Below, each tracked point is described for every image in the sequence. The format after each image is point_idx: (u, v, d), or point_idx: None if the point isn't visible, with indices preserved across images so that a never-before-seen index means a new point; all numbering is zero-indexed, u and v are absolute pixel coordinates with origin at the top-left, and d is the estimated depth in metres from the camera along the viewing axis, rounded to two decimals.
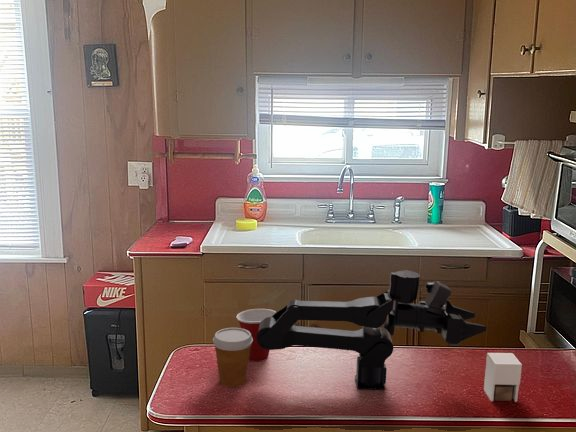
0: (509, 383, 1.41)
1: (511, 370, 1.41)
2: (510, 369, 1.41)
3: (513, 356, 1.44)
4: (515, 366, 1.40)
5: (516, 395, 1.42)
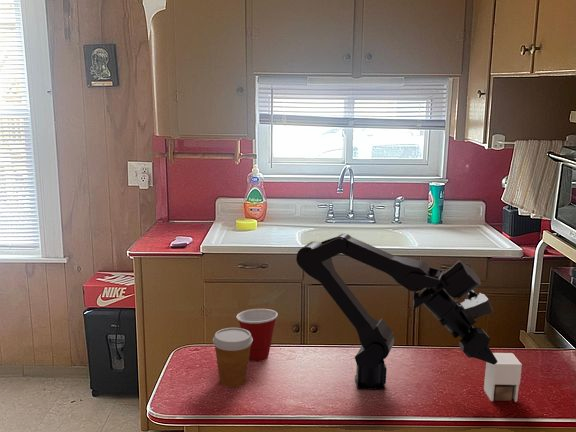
0: (509, 383, 1.41)
1: (511, 370, 1.41)
2: (510, 369, 1.41)
3: (513, 356, 1.44)
4: (515, 366, 1.40)
5: (516, 395, 1.42)
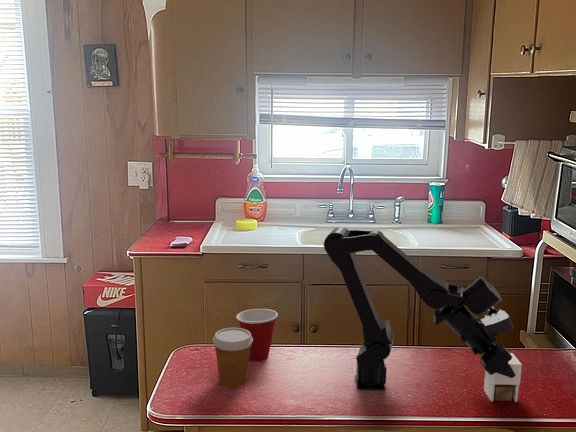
0: (509, 383, 1.41)
1: None
2: None
3: (513, 356, 1.44)
4: (515, 366, 1.40)
5: (516, 395, 1.42)
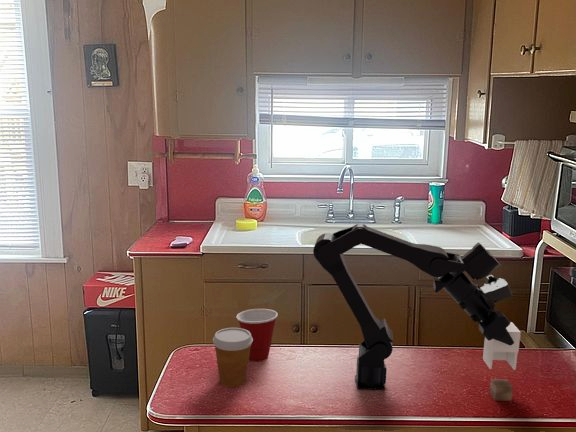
0: (508, 350, 1.42)
1: None
2: None
3: (512, 324, 1.45)
4: (514, 333, 1.41)
5: (515, 363, 1.43)
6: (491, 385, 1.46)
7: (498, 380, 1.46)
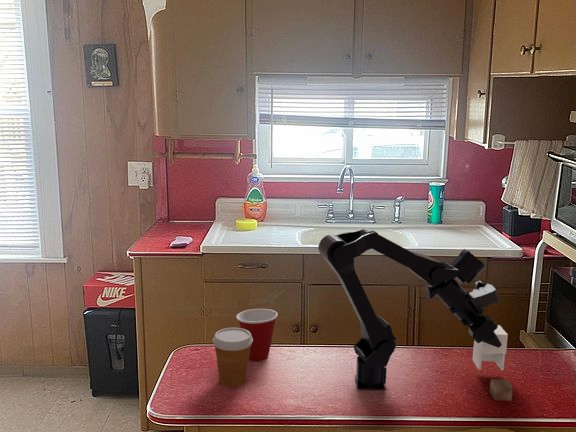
0: (496, 352, 1.50)
1: None
2: None
3: (500, 327, 1.54)
4: (501, 336, 1.50)
5: (502, 364, 1.52)
6: (491, 385, 1.46)
7: (498, 380, 1.46)
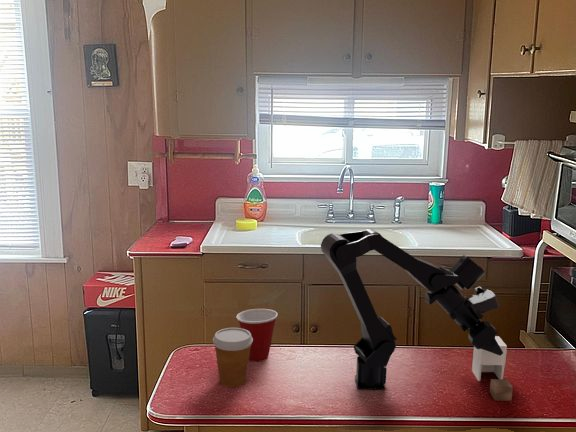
0: (495, 364, 1.51)
1: None
2: None
3: (499, 339, 1.54)
4: (501, 348, 1.50)
5: (502, 375, 1.52)
6: (491, 385, 1.46)
7: (498, 380, 1.46)
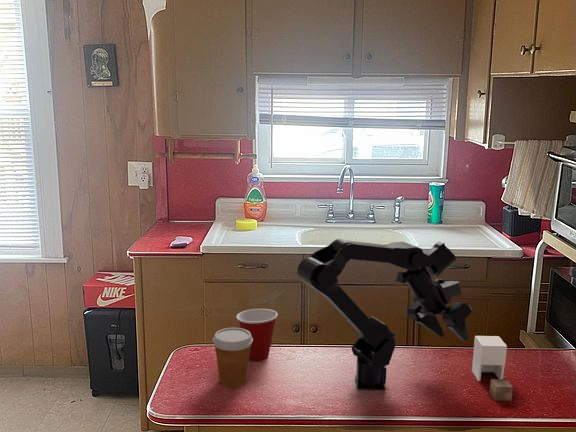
0: (495, 364, 1.51)
1: (497, 351, 1.50)
2: (496, 350, 1.50)
3: (499, 339, 1.54)
4: (501, 348, 1.50)
5: (502, 375, 1.52)
6: (491, 385, 1.46)
7: (498, 380, 1.46)
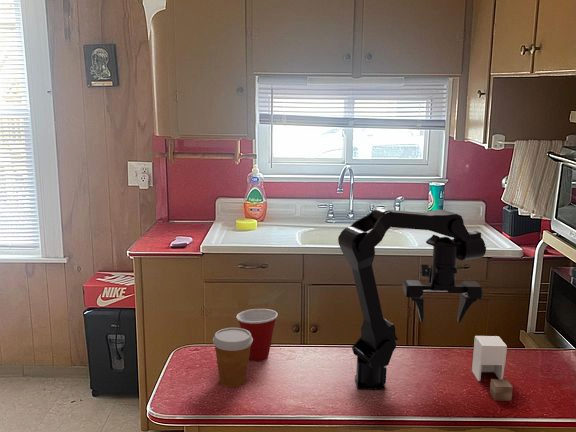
0: (495, 364, 1.51)
1: (497, 351, 1.50)
2: (496, 350, 1.50)
3: (499, 339, 1.54)
4: (501, 348, 1.50)
5: (502, 375, 1.52)
6: (491, 385, 1.46)
7: (498, 380, 1.46)
